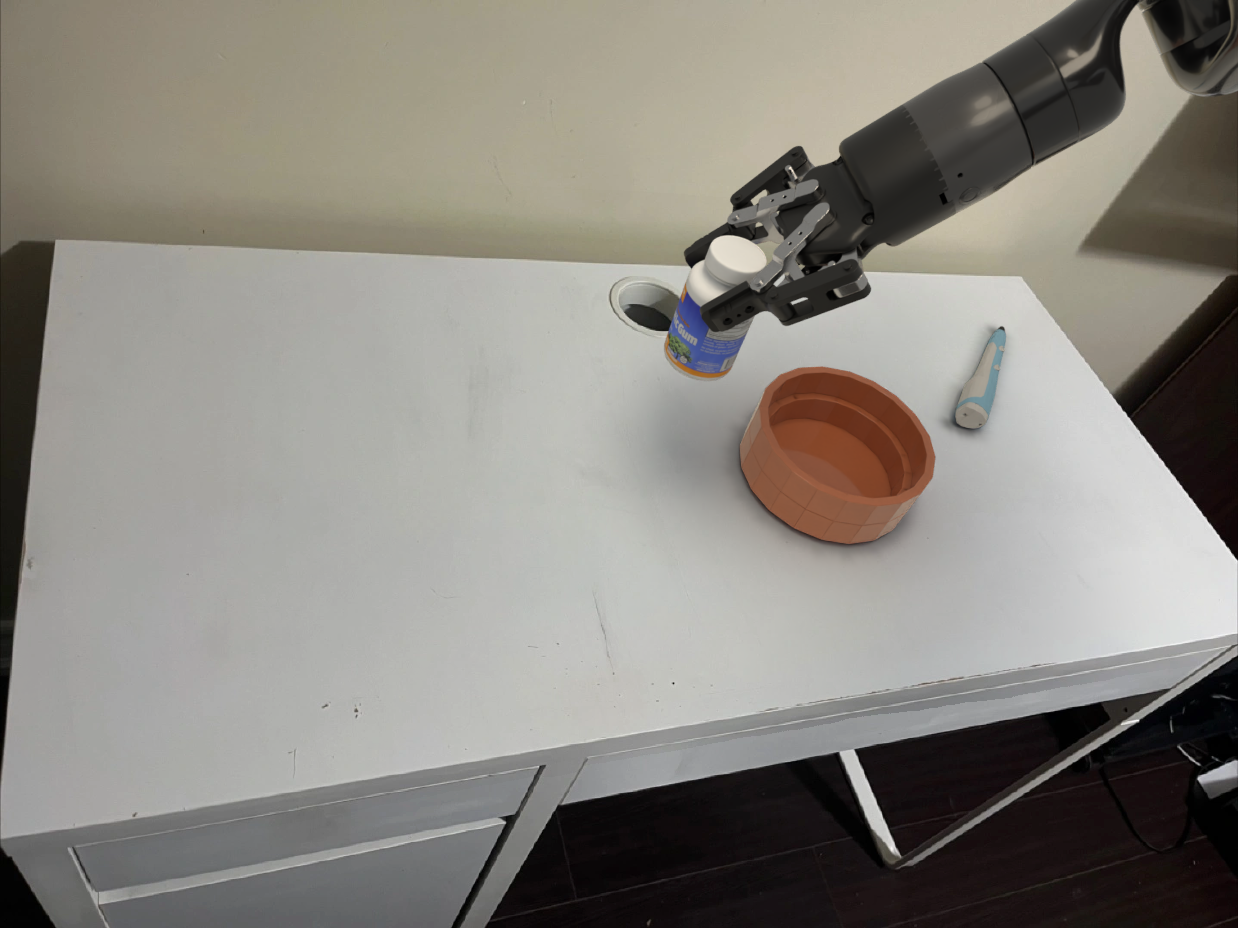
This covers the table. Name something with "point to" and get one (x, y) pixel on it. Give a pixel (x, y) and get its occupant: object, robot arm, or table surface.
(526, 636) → the table surface
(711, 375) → the pill bottle
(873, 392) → the bowl
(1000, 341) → the white and blue rod
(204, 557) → the table surface
